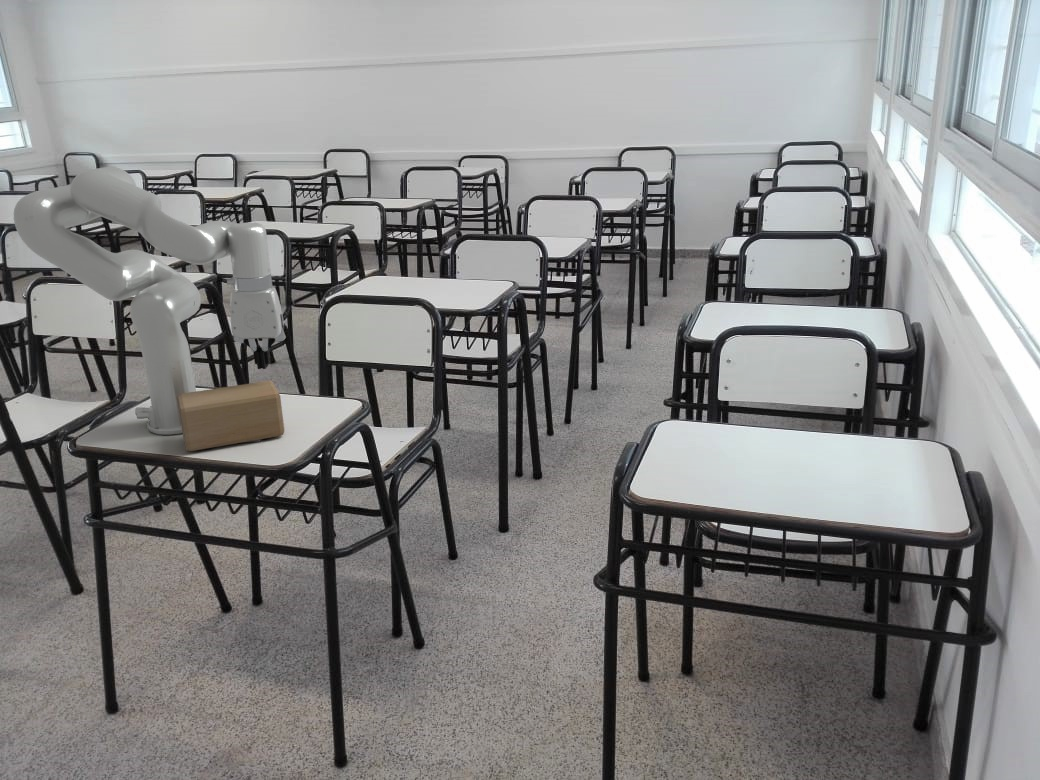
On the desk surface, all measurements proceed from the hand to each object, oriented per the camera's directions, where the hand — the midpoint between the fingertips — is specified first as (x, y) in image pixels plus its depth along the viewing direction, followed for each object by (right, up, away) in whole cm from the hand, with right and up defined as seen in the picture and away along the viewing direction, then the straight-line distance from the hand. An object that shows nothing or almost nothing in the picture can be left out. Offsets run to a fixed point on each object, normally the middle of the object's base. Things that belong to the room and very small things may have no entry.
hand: (263, 367), depth 182 cm
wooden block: (+3, -9, +1) cm, 9 cm away
